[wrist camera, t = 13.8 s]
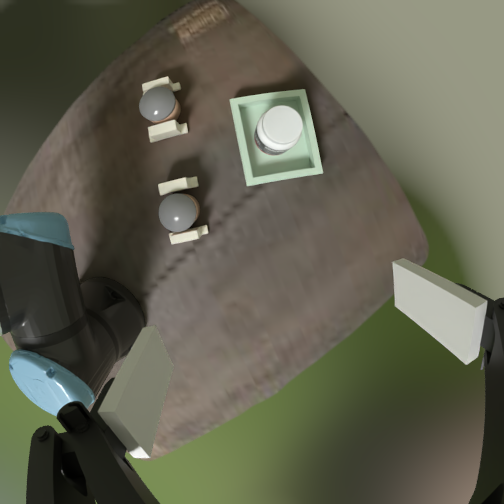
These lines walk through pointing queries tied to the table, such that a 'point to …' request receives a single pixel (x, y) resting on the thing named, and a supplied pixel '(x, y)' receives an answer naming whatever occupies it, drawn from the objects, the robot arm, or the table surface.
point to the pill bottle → (278, 130)
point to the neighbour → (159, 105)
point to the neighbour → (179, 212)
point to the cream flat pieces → (161, 133)
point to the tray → (284, 165)
